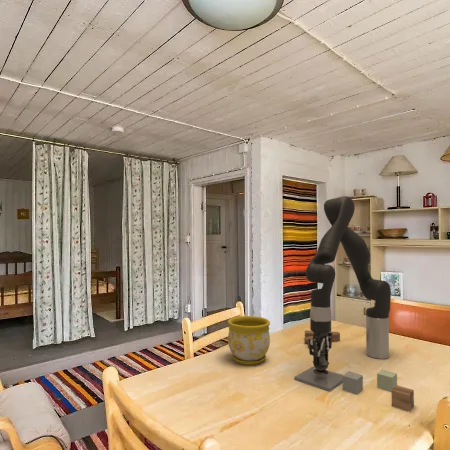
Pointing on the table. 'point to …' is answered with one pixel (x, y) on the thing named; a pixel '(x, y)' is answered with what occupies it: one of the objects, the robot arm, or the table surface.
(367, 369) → the table surface
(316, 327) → the robot arm
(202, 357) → the table surface
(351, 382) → the grey block
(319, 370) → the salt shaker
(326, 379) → the grey tile
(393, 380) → the sage block
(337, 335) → the wooden block set
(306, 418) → the table surface
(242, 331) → the flowerpot
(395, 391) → the walnut block
